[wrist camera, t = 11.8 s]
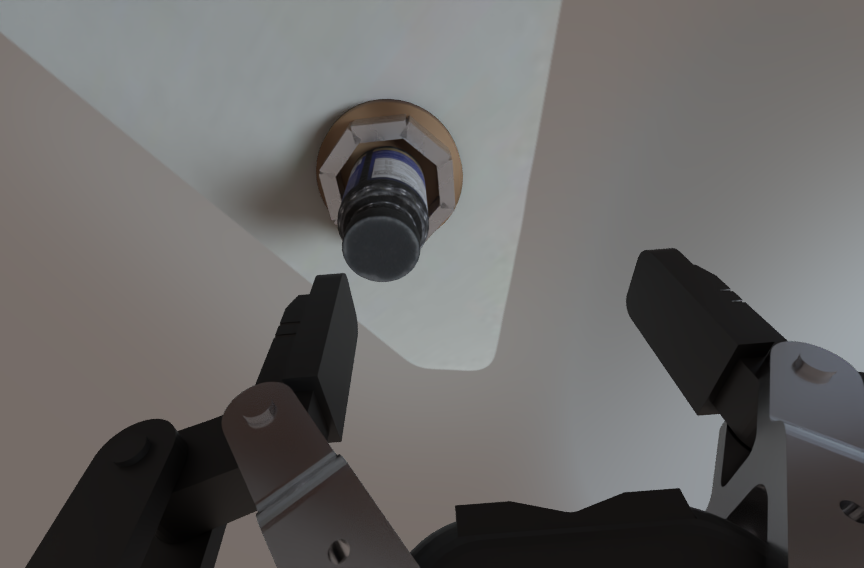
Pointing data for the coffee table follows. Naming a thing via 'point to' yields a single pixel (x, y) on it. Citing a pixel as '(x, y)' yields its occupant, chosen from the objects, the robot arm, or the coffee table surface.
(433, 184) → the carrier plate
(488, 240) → the coffee table surface
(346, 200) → the pill bottle
